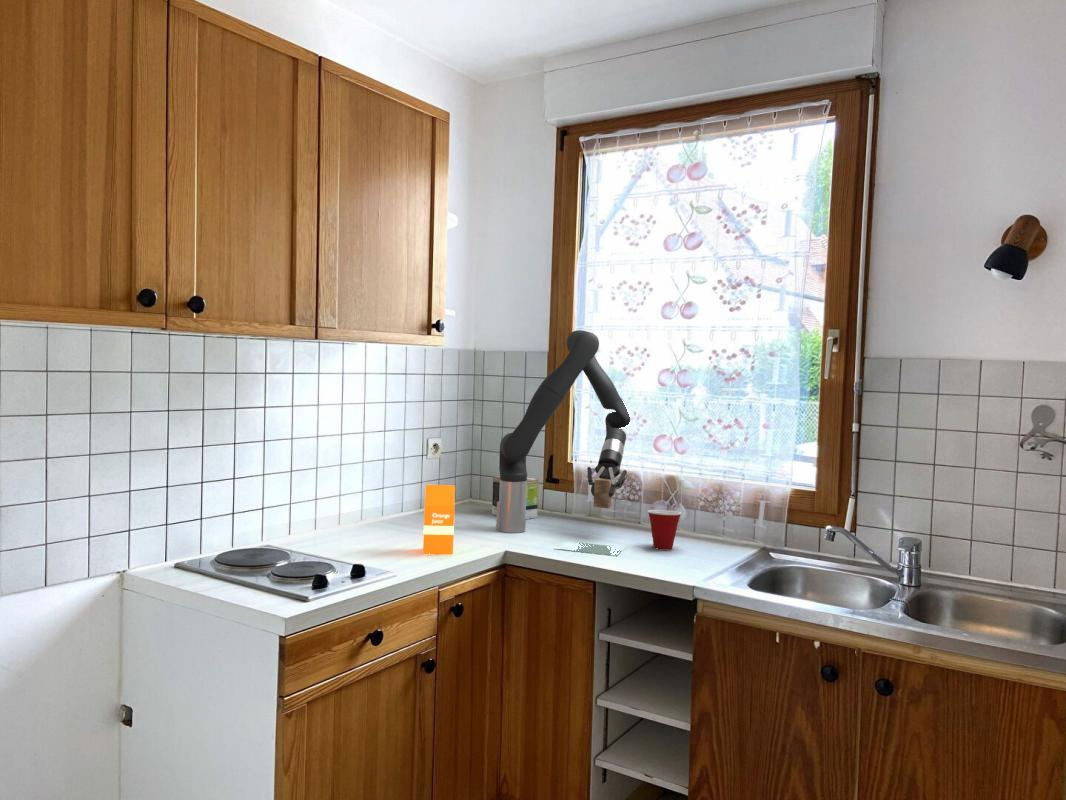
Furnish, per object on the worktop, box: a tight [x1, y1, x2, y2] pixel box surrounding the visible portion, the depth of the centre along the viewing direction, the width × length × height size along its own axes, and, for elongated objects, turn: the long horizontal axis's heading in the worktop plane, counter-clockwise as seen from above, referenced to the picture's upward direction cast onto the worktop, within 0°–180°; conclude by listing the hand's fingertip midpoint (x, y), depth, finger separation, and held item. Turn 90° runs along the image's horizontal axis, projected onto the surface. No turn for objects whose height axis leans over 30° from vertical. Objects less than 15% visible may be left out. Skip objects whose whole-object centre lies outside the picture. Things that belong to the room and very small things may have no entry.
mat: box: [573, 542, 620, 556], centre depth 244 cm, size 20×12×1 cm, turn 72°
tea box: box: [491, 475, 539, 520], centre depth 293 cm, size 15×10×15 cm
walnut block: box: [593, 478, 612, 509], centre depth 259 cm, size 5×4×9 cm
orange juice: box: [422, 484, 456, 555], centre depth 233 cm, size 8×9×20 cm
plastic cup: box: [646, 509, 683, 550], centre depth 249 cm, size 11×11×12 cm
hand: (601, 494), depth 257 cm, fingers closed on walnut block, 5 cm apart
